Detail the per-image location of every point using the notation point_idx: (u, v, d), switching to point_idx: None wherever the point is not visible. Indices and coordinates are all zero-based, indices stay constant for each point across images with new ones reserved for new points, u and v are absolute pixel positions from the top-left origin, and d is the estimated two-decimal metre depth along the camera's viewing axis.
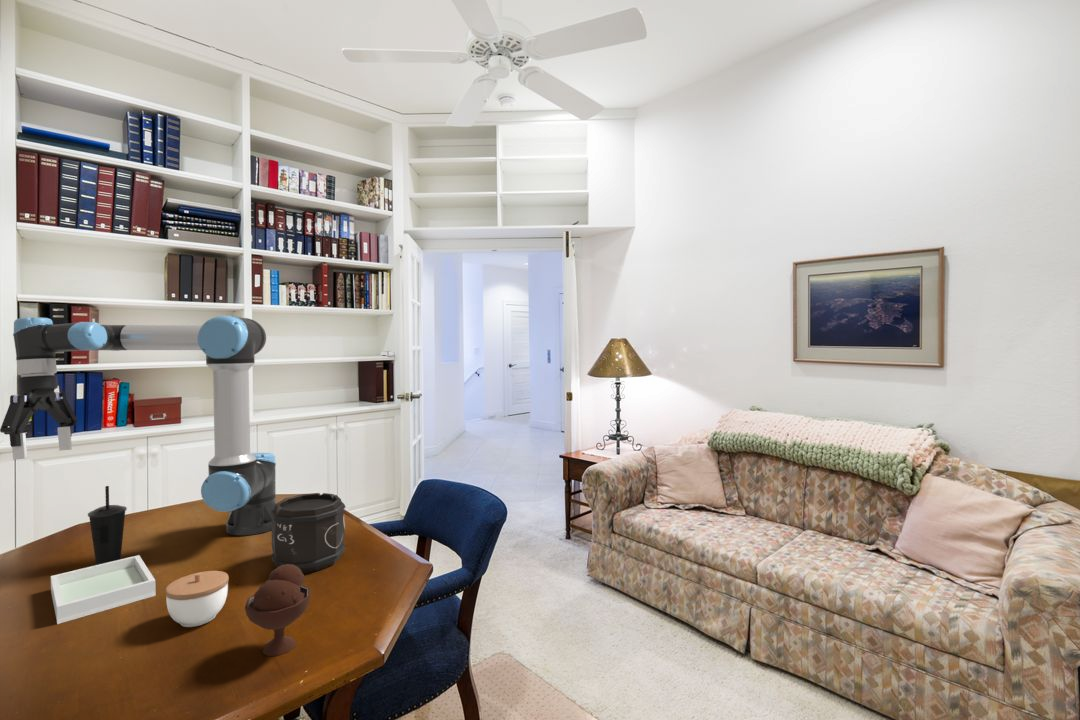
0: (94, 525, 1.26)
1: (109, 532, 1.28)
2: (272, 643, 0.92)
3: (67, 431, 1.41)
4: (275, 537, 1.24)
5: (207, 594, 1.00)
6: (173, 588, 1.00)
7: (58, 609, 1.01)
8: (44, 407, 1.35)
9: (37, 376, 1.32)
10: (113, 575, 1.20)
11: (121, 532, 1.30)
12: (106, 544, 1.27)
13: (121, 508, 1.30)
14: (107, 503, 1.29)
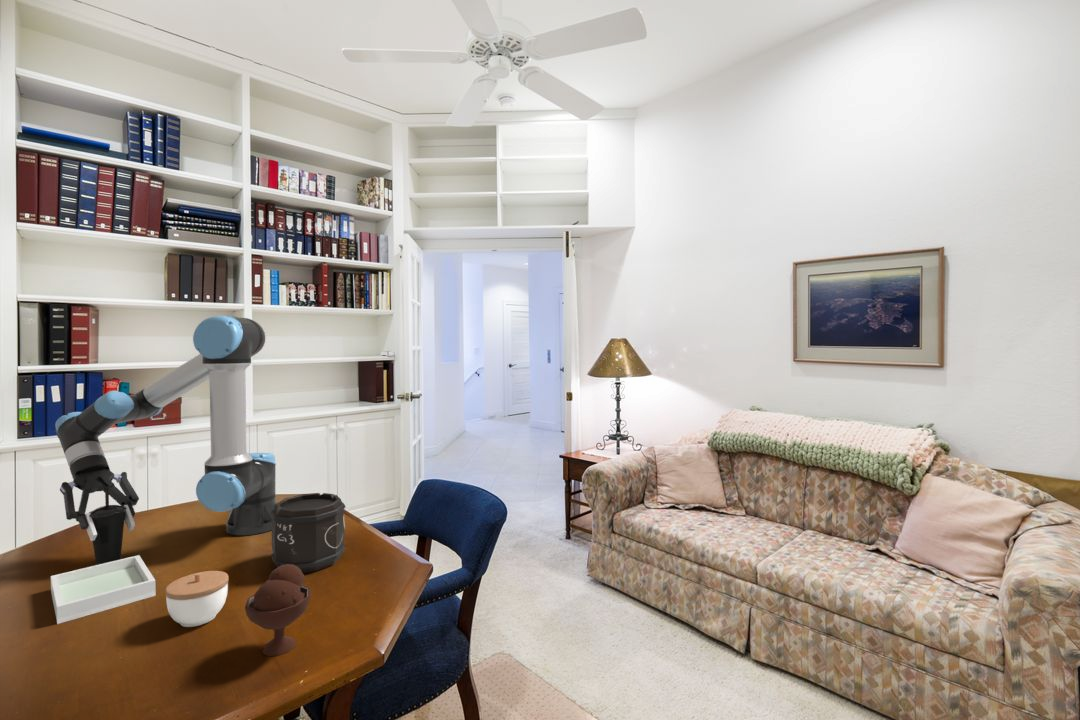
0: (94, 525, 1.26)
1: (109, 532, 1.28)
2: (272, 643, 0.92)
3: None
4: (275, 537, 1.24)
5: (206, 594, 1.00)
6: (173, 588, 1.00)
7: (58, 609, 1.01)
8: (98, 485, 1.33)
9: (77, 460, 1.33)
10: (113, 575, 1.20)
11: (121, 532, 1.30)
12: (105, 544, 1.27)
13: (121, 508, 1.30)
14: (106, 503, 1.29)
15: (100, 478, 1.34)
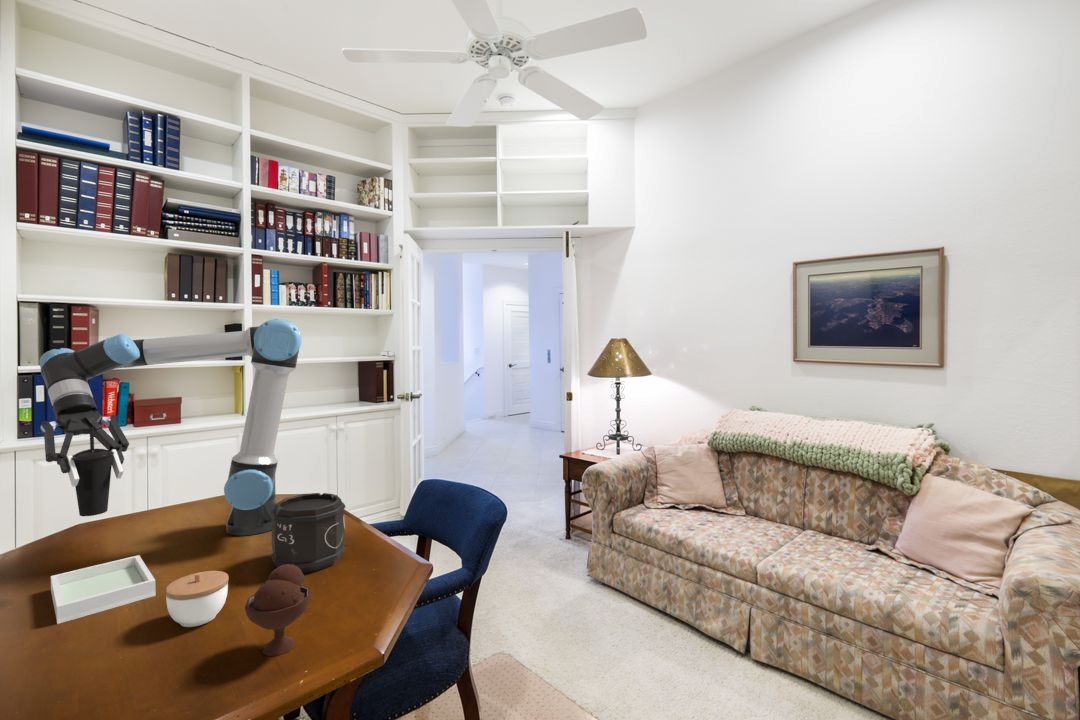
0: (77, 469, 1.12)
1: (93, 477, 1.13)
2: (272, 643, 0.92)
3: None
4: (275, 537, 1.24)
5: (206, 594, 1.00)
6: (173, 588, 1.00)
7: (58, 609, 1.01)
8: (83, 427, 1.18)
9: (60, 398, 1.18)
10: (113, 575, 1.20)
11: (107, 479, 1.16)
12: (89, 491, 1.13)
13: (107, 452, 1.16)
14: (91, 445, 1.15)
15: (86, 419, 1.19)
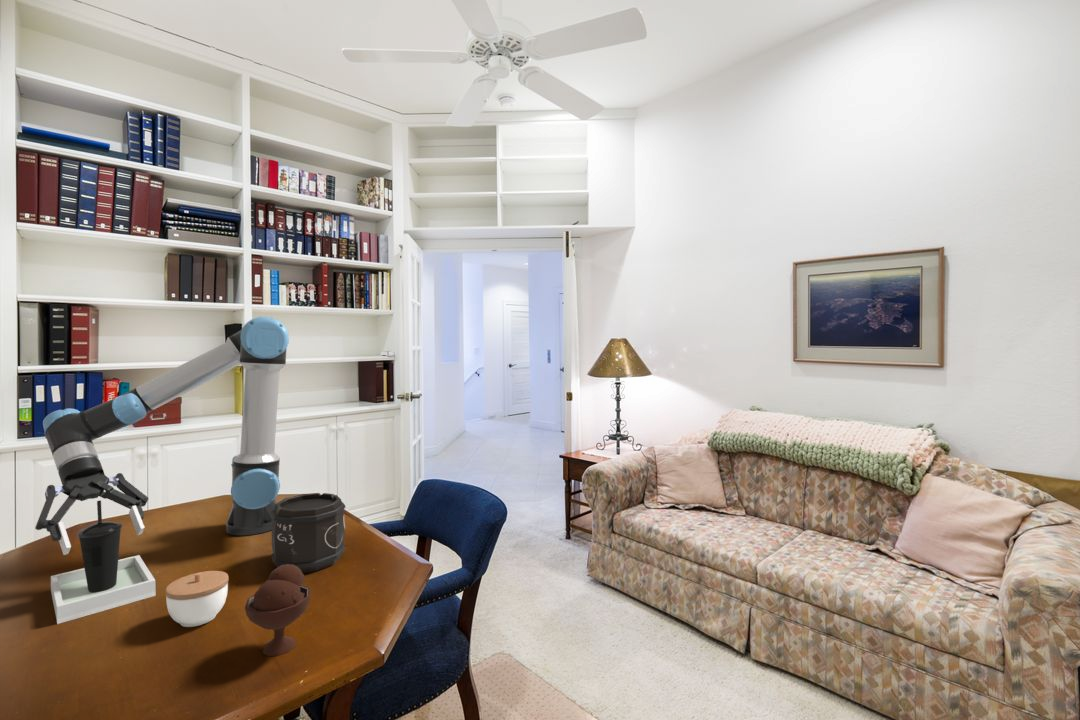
0: (85, 546, 1.10)
1: (102, 553, 1.11)
2: (272, 643, 0.92)
3: (133, 511, 1.19)
4: (275, 537, 1.24)
5: (206, 594, 1.00)
6: (173, 588, 1.00)
7: (58, 609, 1.01)
8: (90, 492, 1.16)
9: (66, 463, 1.16)
10: None
11: (116, 553, 1.14)
12: (99, 567, 1.11)
13: (116, 526, 1.14)
14: (99, 520, 1.13)
15: (94, 484, 1.18)
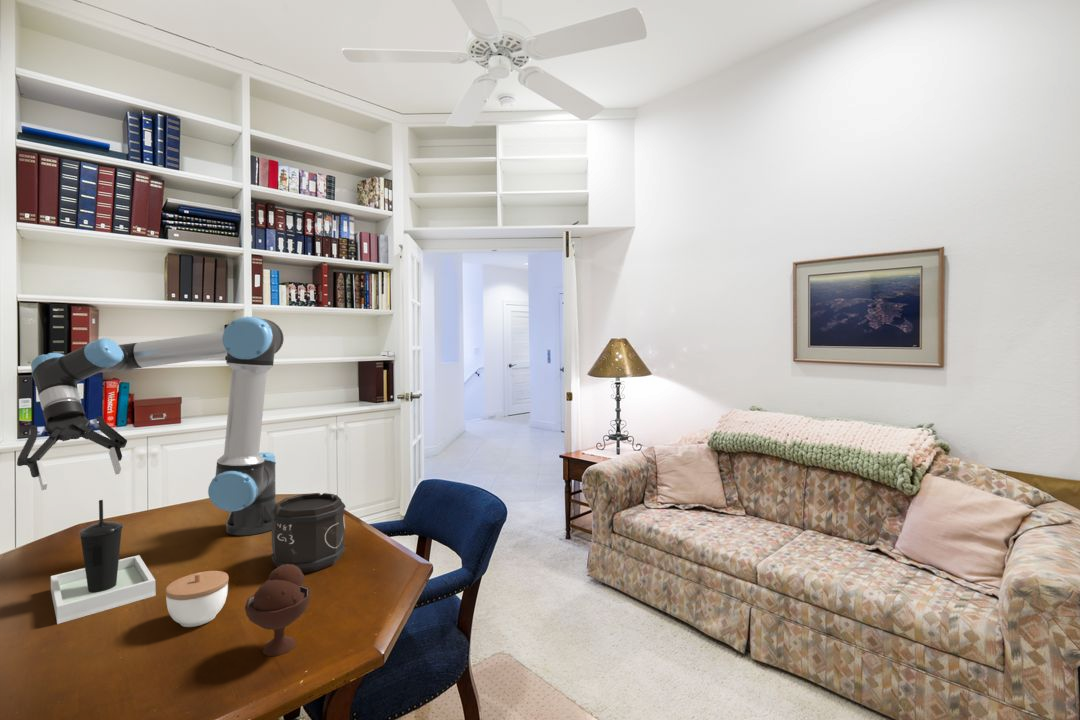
0: (86, 545, 1.10)
1: (103, 553, 1.11)
2: (272, 643, 0.92)
3: (112, 452, 1.28)
4: (275, 537, 1.24)
5: (206, 594, 1.00)
6: (173, 588, 1.00)
7: (58, 609, 1.01)
8: (71, 433, 1.25)
9: (49, 405, 1.25)
10: None
11: (117, 552, 1.14)
12: (99, 566, 1.11)
13: (117, 525, 1.14)
14: (100, 519, 1.13)
15: (75, 426, 1.27)
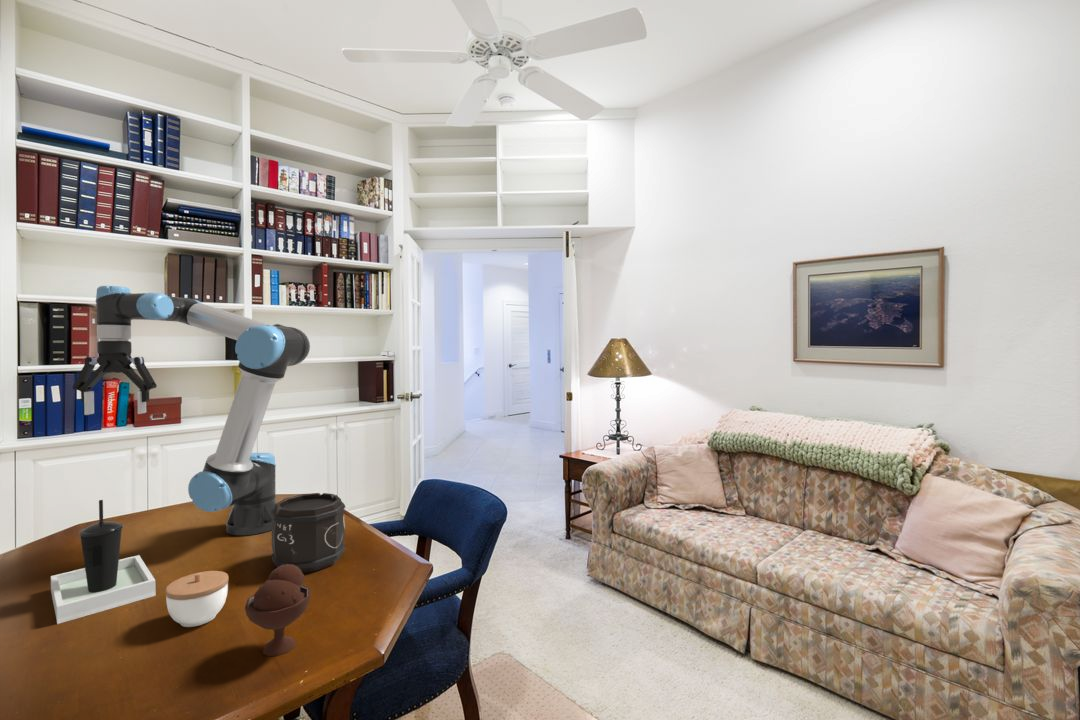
0: (86, 545, 1.10)
1: (103, 553, 1.11)
2: (272, 643, 0.92)
3: None
4: (275, 537, 1.24)
5: (206, 594, 1.00)
6: (173, 588, 1.00)
7: (58, 609, 1.01)
8: (112, 370, 1.43)
9: (98, 341, 1.42)
10: None
11: (117, 552, 1.14)
12: (99, 566, 1.11)
13: (117, 525, 1.14)
14: (100, 519, 1.13)
15: None
